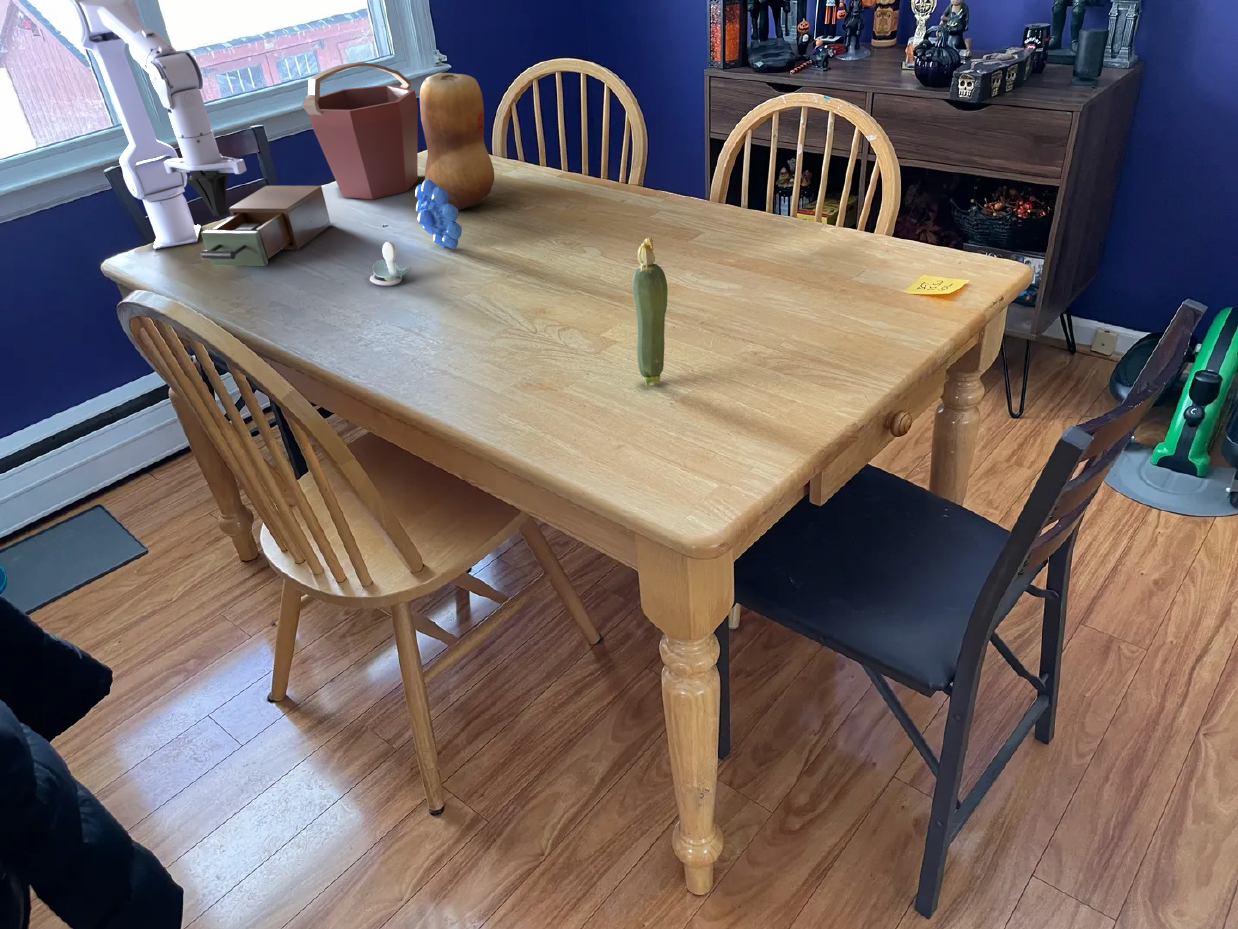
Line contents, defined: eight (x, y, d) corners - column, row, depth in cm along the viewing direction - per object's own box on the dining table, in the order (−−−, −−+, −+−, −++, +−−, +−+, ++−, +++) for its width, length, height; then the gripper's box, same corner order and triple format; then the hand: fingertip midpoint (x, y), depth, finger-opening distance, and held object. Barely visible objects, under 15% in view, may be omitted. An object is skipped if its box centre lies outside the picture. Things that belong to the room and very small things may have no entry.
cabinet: (297, 249, 172) (286, 208, 168) (241, 248, 175) (228, 208, 171) (331, 224, 183) (321, 185, 179) (277, 224, 186) (266, 185, 181)
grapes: (406, 247, 169) (392, 181, 163) (436, 235, 173) (424, 171, 166) (443, 261, 162) (430, 193, 155) (474, 249, 166) (462, 182, 159)
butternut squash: (494, 216, 180) (473, 80, 166) (426, 220, 181) (400, 86, 167) (502, 193, 192) (483, 64, 177) (438, 197, 192) (415, 69, 178)
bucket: (335, 211, 189) (303, 83, 175) (308, 186, 206) (276, 66, 192) (446, 185, 199) (425, 61, 185) (412, 163, 215) (389, 47, 201)
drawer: (249, 276, 160) (239, 243, 157) (195, 275, 163) (183, 242, 159) (298, 241, 174) (290, 209, 170) (247, 240, 176) (238, 209, 173)
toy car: (232, 250, 169) (225, 230, 167) (244, 242, 172) (238, 222, 170) (266, 250, 167) (259, 230, 165) (277, 242, 170) (271, 222, 168)
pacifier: (390, 291, 153) (417, 277, 157) (381, 255, 149) (409, 242, 153) (362, 282, 157) (389, 269, 161) (353, 247, 153) (381, 235, 157)
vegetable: (636, 375, 123) (626, 229, 112) (669, 371, 123) (662, 225, 112) (640, 391, 119) (630, 242, 108) (673, 387, 119) (667, 238, 108)
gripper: (246, 126, 153) (269, 207, 161) (173, 127, 157) (199, 205, 165) (220, 138, 148) (245, 221, 155) (145, 138, 152) (173, 219, 159)
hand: (220, 214), depth 160 cm, fingers closed
